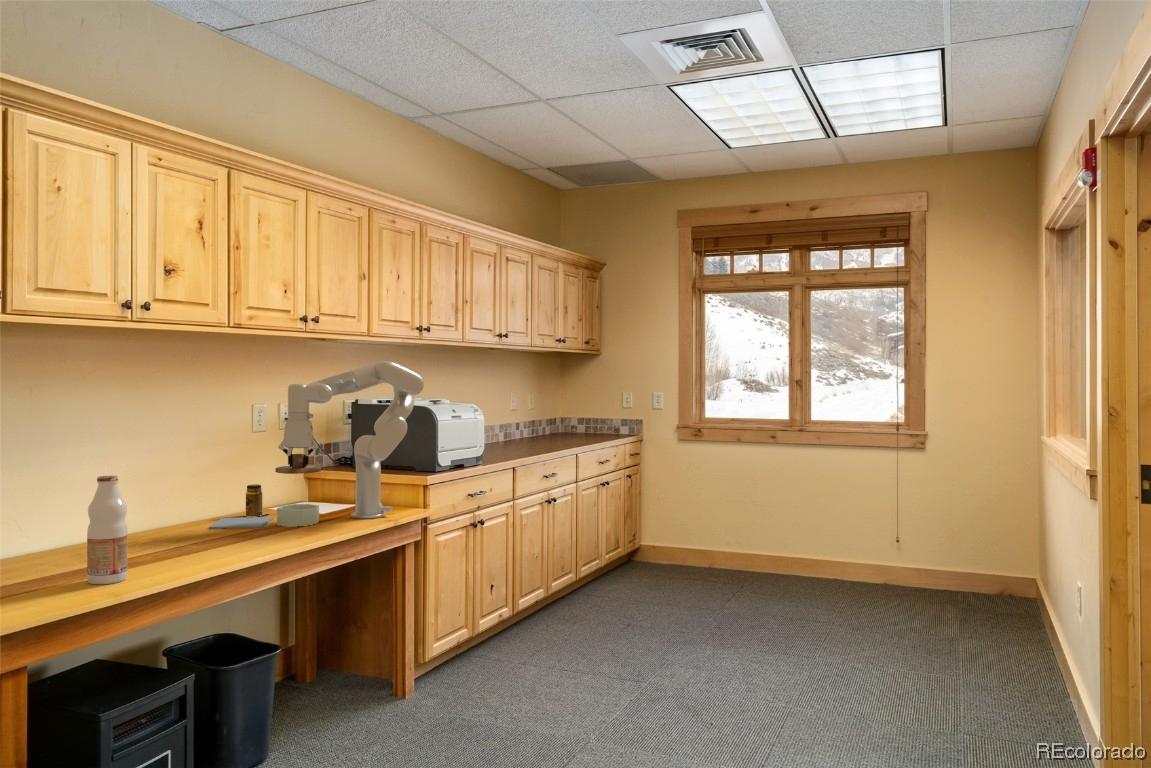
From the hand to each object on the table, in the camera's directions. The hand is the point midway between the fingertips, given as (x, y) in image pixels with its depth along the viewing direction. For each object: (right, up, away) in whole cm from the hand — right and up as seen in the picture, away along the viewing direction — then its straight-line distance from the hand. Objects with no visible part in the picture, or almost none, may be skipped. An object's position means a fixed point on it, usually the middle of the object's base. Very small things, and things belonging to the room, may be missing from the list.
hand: (298, 466), depth 308 cm
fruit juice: (-23, -23, -85) cm, 91 cm away
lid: (0, -2, 0) cm, 2 cm away
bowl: (0, -21, 0) cm, 21 cm away
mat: (-20, -21, -3) cm, 29 cm away
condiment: (-22, -21, +15) cm, 34 cm away
